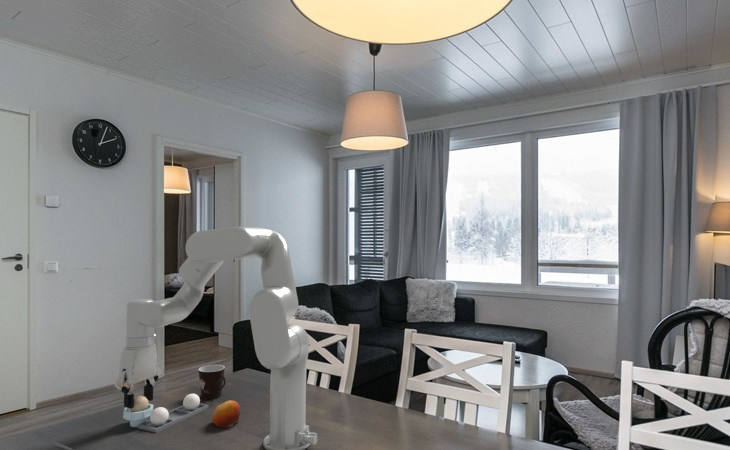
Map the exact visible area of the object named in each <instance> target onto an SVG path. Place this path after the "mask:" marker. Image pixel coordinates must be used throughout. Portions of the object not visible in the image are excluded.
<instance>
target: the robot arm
mask: <svg viewBox="0 0 730 450" xmlns="http://www.w3.org/2000/svg"><path fill="white" fill-rule="evenodd" d="M185 253H186V256H187V258H186V259H185V261H184V262H183V263H182V265H181V266H180V267H179V270H178V273H179V276H180V278H181V279H182V280H183V284H182V286H181V287H180V289H178V291H177V292H176V294H174V296H173V297H167V298H163V299H159V300H154V299H151V298H135V299H134V298H133V299H131V300H129V301H128V302H127V304H126V309H125V310H126V315H125V316H126V318H125V319H126V320H125V347H124V348H122V352H121V355H120V360H119V366H118V367H119V368H118V378H117V380H116V381H115V383H114V387H115V388H116V389H118V390H119V391H120V392H121V393H122V394H123V407H124V408H133V407H134V397H135V394H134V393H133V392H134V388H135V385H136V384H138V383H141V382H144V384H145V385H144V386H143V396H145V397H146V398H147V399H148V402H149V401H154V387H155V386H156V382H157V381H158V379H159V377H160V376H161V374H162V372H163V370H162V368H160V367H159V363H158V352H157V346H156V345H157V344H156V343H155V339H156V338H157V335H156V334H155V328H162V327H165V326H168V325H171V324H175V323H178V322H182V321H183V320H184V319H186V318H187V317H188V316H189V315H190V314H191V313H192V312H193V311H194V309H196V307H197V306H198V305H199V303H200V302H201V300H202V299H203V296H204V292H205V286H206V284H208V282H210V281H209V280H211V278H212V277H213V275H214V274H215V273H216V272H217V271H218V270H219V268H220V267H221V266H222V265H223V263H225V261H230V260H231V261H233V260H242V259H244V260H245V259H252V258H259V259H260V260H261V262H260V263H261V264H260V276H261V277H260V278H261V282H262V289H260V290H259V291H257V292H256V293H255V294H254V296H253V297H252V299H251V301H250V303H249V320H250V321H249V322H250V326H251V332H252V339H253V344H254V350H255V354H256V357H257V359H258V362H260V364H261V365H262V366H263V367H264V368H265V369H268V370H270V376H269V377H270V378H269V380H270V381H269V386H270V387H269V434H268V435H266V436H265V437H264V439H263V447H264V449H265V450H306V449H307V448H308V447H309V446H310V445H315V446H316V445H317V442H318V433H317V432H311V431H310V425H308V424H306V423H307V422H306V419H307V418H306V417H307V416H306V412H307V411H306V408H307V407H306V405H307V404H306V403H307V398H306V397H307V395H306V394H307V368H308V367H307V365H308V357H309V349H310V339H309V336H308V333H307V331H306V330H305V329H304V328H303V326H301V325H300V324H299V325H298V324H297V323H288V319H289V320H290V318H292V317H294V316H295V314H296V313H297V312H298V309H299V299H298V298H299V297H298V293H297V288H296V282H295V276H294V272H293V267H292V266H293V265H292V261H291V254H290V249H289V246H288V243H287V241H286V239H285V238H284V237H283V236H282V235H281V234H280V233H278V232H277V231H275V230H273V229H269V228H266V227H258V226H230V227H222V228H216V229H215V228H214V229H206V230H198V231H196V232H194V233H192V234H191V235H190V236H189V238H188V239H187V240H186V242H185Z"/></svg>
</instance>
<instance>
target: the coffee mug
mask: <svg viewBox="0 0 730 450" xmlns="http://www.w3.org/2000/svg"><path fill="white" fill-rule="evenodd" d="M225 370H226V367H225V366H224V365H222V364H209V365H203V366H201V367H199V368H198V378H199V387H200V396H201V397H200V398H201V399H203V400H216V399H218V398H220V397H222V393H223V392H222V391H223V389H224V387H225V385H226V378H225Z"/></svg>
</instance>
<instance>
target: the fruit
mask: <svg viewBox="0 0 730 450" xmlns="http://www.w3.org/2000/svg"><path fill="white" fill-rule="evenodd" d="M240 417H241V406H240V404H239V403H238V402H237V401H235V400H226V401H224V402H223V403H220V404H219V405H217V406H216V407H215V408H214V411H213V413H212V418H211V419H212V420H211V421H212V423H213V424H214V425H215V426H216V427H217V428H222V429H225V428H232V427H233V426H234V425H235V424H237V423H239V421H240Z"/></svg>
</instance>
